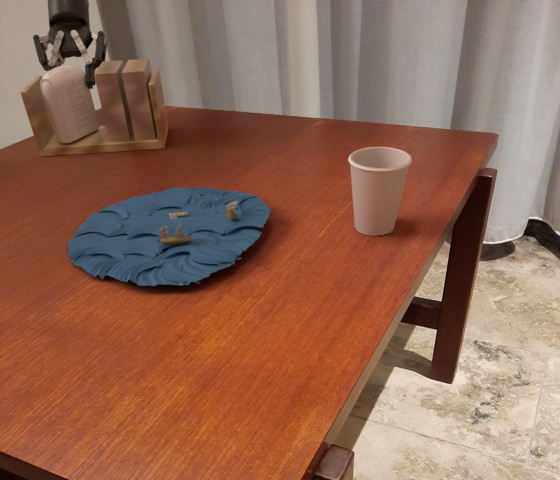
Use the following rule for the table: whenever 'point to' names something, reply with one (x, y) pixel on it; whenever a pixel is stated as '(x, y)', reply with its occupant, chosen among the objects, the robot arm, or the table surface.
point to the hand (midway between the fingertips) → (73, 87)
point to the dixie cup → (377, 187)
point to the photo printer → (69, 103)
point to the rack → (109, 112)
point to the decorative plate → (169, 235)
